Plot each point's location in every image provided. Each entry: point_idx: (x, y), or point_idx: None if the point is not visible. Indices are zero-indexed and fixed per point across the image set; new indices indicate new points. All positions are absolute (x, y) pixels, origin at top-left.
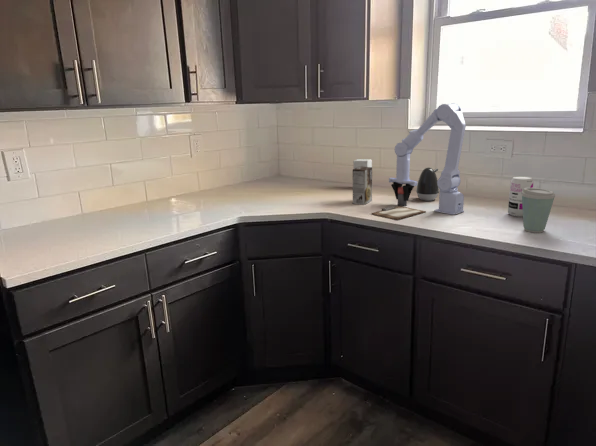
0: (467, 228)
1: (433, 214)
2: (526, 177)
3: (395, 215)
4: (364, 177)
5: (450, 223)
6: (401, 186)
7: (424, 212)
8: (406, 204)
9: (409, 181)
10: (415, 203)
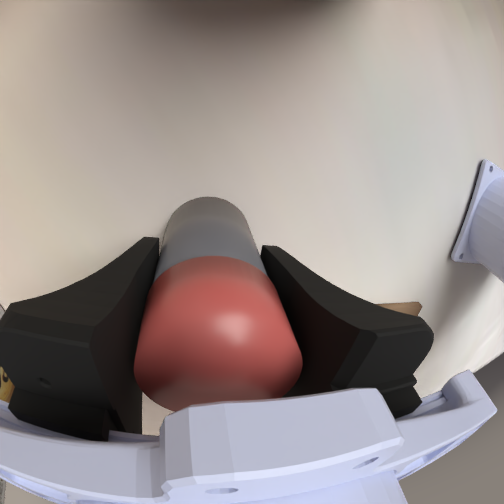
0: (490, 340)
1: (444, 301)
2: None
3: None
4: (3, 500)
5: (472, 340)
6: (116, 317)
7: (414, 313)
8: (249, 228)
9: (402, 477)
10: (275, 95)
